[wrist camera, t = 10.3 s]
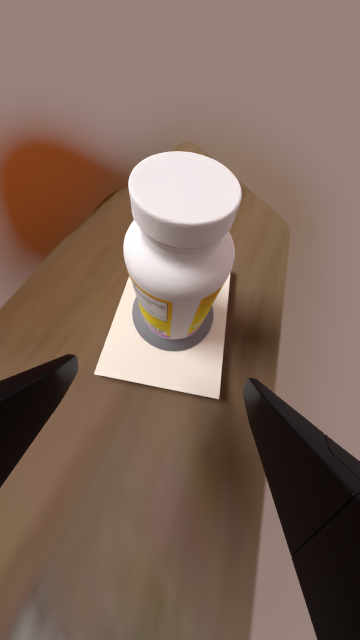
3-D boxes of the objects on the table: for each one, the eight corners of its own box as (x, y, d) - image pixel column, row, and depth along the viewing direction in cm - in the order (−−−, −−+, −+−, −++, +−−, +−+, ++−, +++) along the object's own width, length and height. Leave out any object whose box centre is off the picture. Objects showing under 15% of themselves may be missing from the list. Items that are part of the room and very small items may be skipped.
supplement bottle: (199, 285, 20) (249, 142, 8) (206, 339, 18) (289, 247, 6) (142, 286, 20) (109, 132, 8) (142, 342, 17) (92, 244, 5)
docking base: (215, 398, 17) (219, 399, 16) (98, 374, 17) (93, 373, 16) (227, 271, 23) (231, 264, 22) (141, 252, 23) (139, 245, 22)
